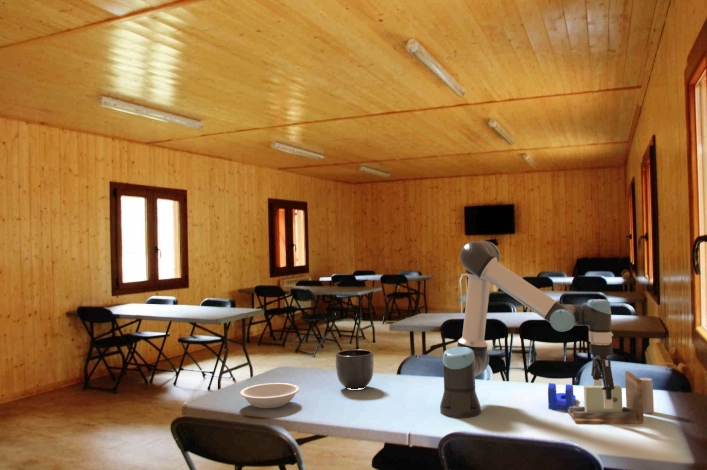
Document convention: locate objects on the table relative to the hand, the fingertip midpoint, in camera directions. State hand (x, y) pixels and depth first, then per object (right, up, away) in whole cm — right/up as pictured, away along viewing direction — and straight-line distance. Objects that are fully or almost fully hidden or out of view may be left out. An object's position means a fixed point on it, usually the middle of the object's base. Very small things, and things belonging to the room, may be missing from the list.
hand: (603, 403), depth 204 cm
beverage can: (+18, -5, +5) cm, 19 cm away
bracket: (-7, -6, +19) cm, 21 cm away
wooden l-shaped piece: (0, -5, 0) cm, 5 cm away
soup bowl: (-123, -10, +29) cm, 126 cm away
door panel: (0, -4, 0) cm, 4 cm away
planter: (-88, -9, +53) cm, 103 cm away
